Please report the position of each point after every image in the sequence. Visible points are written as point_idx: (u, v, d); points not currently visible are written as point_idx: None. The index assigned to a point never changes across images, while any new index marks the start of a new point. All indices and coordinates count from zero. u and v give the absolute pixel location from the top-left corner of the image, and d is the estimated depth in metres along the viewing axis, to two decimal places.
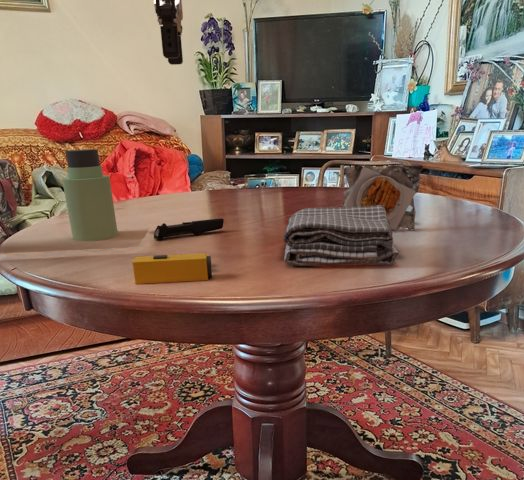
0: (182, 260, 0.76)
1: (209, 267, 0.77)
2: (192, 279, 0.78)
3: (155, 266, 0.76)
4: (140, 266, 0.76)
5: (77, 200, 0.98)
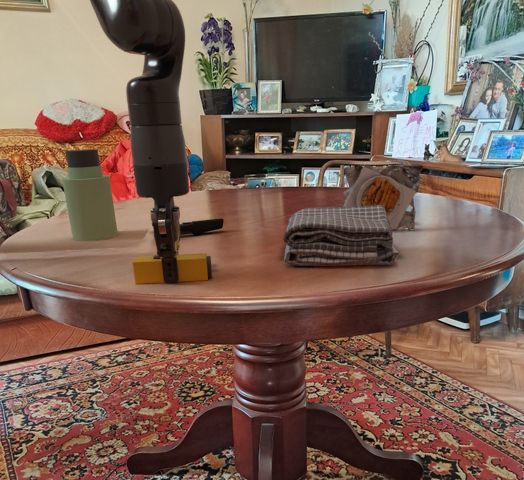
0: (182, 260, 0.76)
1: (209, 267, 0.77)
2: (192, 279, 0.78)
3: (155, 266, 0.76)
4: (140, 266, 0.76)
5: (77, 200, 0.98)
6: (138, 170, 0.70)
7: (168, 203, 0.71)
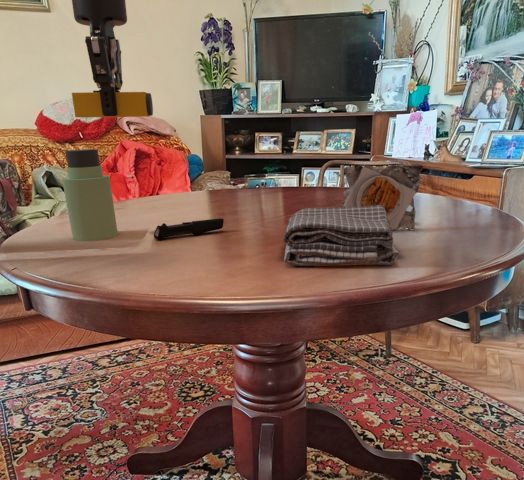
0: (121, 93, 0.78)
1: (148, 102, 0.79)
2: (131, 114, 0.79)
3: (94, 98, 0.78)
4: (79, 97, 0.78)
5: (77, 200, 0.98)
6: None
7: (103, 24, 0.72)
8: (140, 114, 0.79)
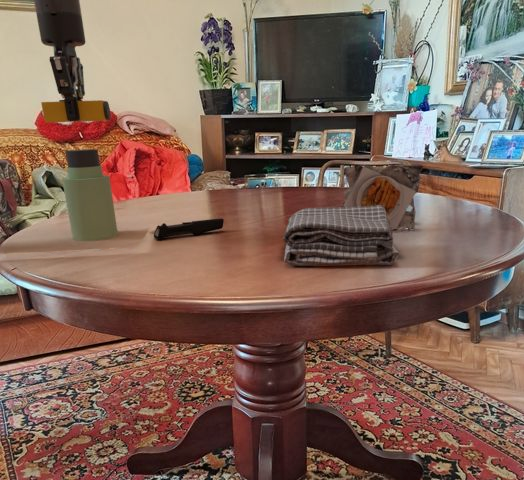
0: (82, 101, 0.94)
1: (105, 108, 0.95)
2: (91, 119, 0.95)
3: (60, 106, 0.94)
4: (48, 106, 0.94)
5: (77, 200, 0.98)
6: (39, 18, 0.87)
7: (64, 46, 0.88)
8: (99, 119, 0.95)
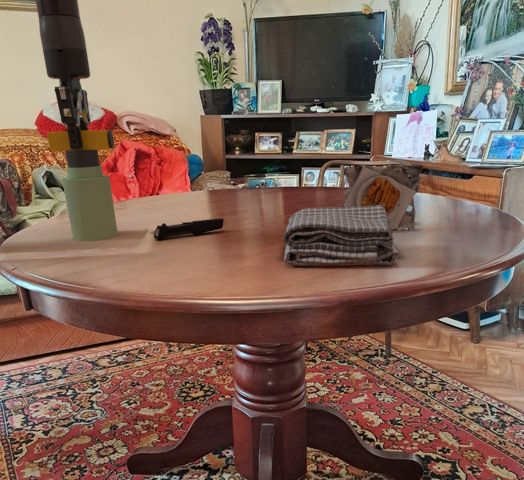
0: (86, 131, 0.96)
1: (109, 138, 0.97)
2: (96, 148, 0.97)
3: (65, 136, 0.96)
4: (53, 136, 0.96)
5: (77, 200, 0.98)
6: (45, 53, 0.90)
7: (70, 80, 0.91)
8: (103, 148, 0.97)
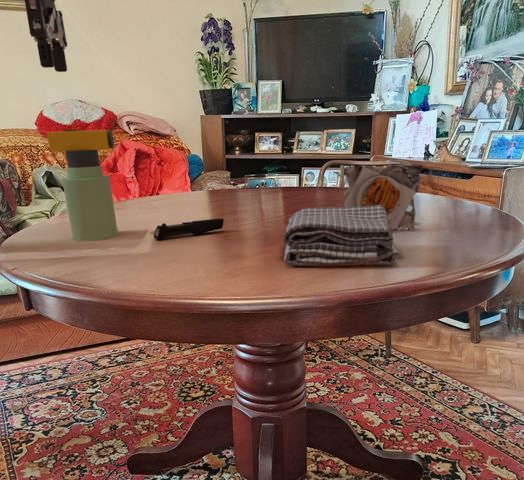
0: (86, 131, 0.96)
1: (109, 138, 0.97)
2: (96, 148, 0.97)
3: (65, 136, 0.96)
4: (53, 136, 0.96)
5: (77, 200, 0.98)
6: None
7: None
8: (103, 148, 0.97)
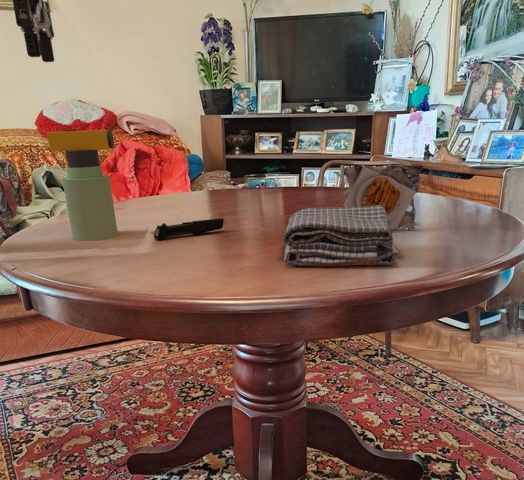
0: (86, 131, 0.96)
1: (109, 138, 0.97)
2: (96, 148, 0.97)
3: (65, 136, 0.96)
4: (53, 136, 0.96)
5: (77, 200, 0.98)
6: None
7: None
8: (103, 148, 0.97)
